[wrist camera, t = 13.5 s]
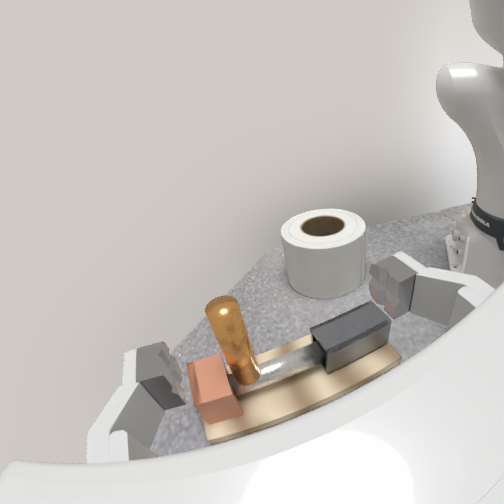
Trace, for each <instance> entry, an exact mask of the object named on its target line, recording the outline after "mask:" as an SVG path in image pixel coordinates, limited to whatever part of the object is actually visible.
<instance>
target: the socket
mask: <svg viewBox="0 0 504 504" xmlns="http://www.w3.org/2000/svg"><path fill="white" fill-rule="evenodd" d="M187 370H188V376H189V381H190V387H191V393H192V398H193V403H194V406H195V408H196V409H197V410H198V411H199V413H200V414H201V415H202V416H203V418H204V419H205V420H206V421H207V423H208V424H209V425H211V424H214V423H218V422H221V421H225V420H228V419H231V418H235V417H238V416H241V415H244V414H243V412H242V409H241V406H240V403H239V400H238V397H237V396H236V397H235V395H234V393H233V391H232V389H231V386H230V382H229V379H228V376H227V375H228V374H229V372H228V370H227V367H226V365H225V363H224V361H223V359H222V357H221V355H220V354H217V355H214V356H211V357H208V358H204V359H201V360H198V361H195V362H191V363H188V364H187Z"/></svg>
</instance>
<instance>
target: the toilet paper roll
mask: <svg viewBox="0 0 504 504" xmlns="http://www.w3.org/2000/svg"><path fill="white" fill-rule="evenodd" d="M281 237H282V242H283V248H284V254H285V260H286V266H287V272H288V279H289V283H290V285H291V286H292V287H293V289H295V290H296V291H297V292H299V293H300V294H302V295H305V296H308V297H311V298H317V299H331V298H337V297H341V296H344V295H346V294H348V293H350V292H352V291H354V290H355V289H356V288H358V287H359V286H360V285H362V284H363V281H364V277H365V249H366V227H365V222H364V221H363V219H362V218H361V217H359V216H358V215H356V214H354V213H352V212H349V211H345V210H340V209H318V210H312V211H308V212H305V213H301V214H299V215H296V216H294V217H293V218H291V219H289V220H288V221H287V222H286V223H285V224H284V225H283V226H282V229H281Z"/></svg>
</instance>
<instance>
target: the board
mask: <svg viewBox="0 0 504 504" xmlns="http://www.w3.org/2000/svg"><path fill="white" fill-rule="evenodd" d="M310 343H312V341H311V334H310V335H307V336H305V337H302V338H300V339H298V340H295V341H293V342H290V343H288V344H285V345H283V346H280V347H278V348H275V349H272V350H270V351H267V352H264V353H262V354H259V355H256V356H255V357H256V360H257V363H258V364H260V363H263V362H266V361H268V360H271V359H273V358H276V357H279V356H281V355H284V354H286V353H289V352H291V351H294V350H296V349H299V348H301V347H303V346H306V345H308V344H310ZM401 358H402V356H401V355H400V354H399V353H398V352H397V351H396V350H395V349H394V348H393V346H392V345H391V344H390V343H389V342H387V344H386V345H385V346H383V347H381V348H379V349H378V350H376V351H374V352H372V353H370V354H369V355H367V356H365V357H363V358H361V359H359V360H357V361H355V362H353V363H351V364H349V365H347V366H345V367H343V368H341V369H339V370H337V371H335V372H333V373H331V374H329V375H328V374H327V373H326V371H325V370H324V368H323V367H322V365H321V364H319V365H316V366H314V367H312V368H310V369H307V370H305V371H303V372H300V373H298V374H295V375H293V376H291V377H288V378H286V379H283V380H280V381H278V382H275V383H273V384H270V385H267V386H265V387H262V388H259V389H256V390H254V391H251V392H248V393H245V394H242V395H239V396H237V397H238V400H239V403H240V406H241V409H242V412H243V414H244V415H241V416H238V417H235V418H231V419H228V420H225V421H221V422H218V423H214V424H211V425H209V424H208V423H207V421H206V420H205V419H204V418H203V416H202V419H203V423H204V427H205V432H206V436H207V440H208V441H209V442H210V443H211V444H216V443H219V442H223V441H227V440H230V439H234V438H237V437H240V436H243V435H247V434H250V433H253V432H256V431H259V430H262V429H265V428H267V427H270V426H273V425H276V424H278V423H281V422H284V421H286V420H289V419H291V418H294V417H296V416H299V415H301V414H304V413H306V412H308V411H310V410H313V409H315V408H317V407H319V406H322V405H324V404H326V403H328V402H330V401H332V400H334V399H336V398H339V397H341V396H343V395H345V394H347V393H348V392H350V391H352V390H354V389H356V388H358V387H360V386H362V385H364V384H365V383H367V382H369V381H371V380H373V379H374V378H376V377H378V376H380V375H381V374H383V373H385V372H386V371H388V370H390V369H391V368H393V367H395V366H396V365H398V364H399V363H400V361H401ZM226 367H227V370H228V372H229V374H231V373H232V371H231V369H230V367H229V365H227V366H226Z"/></svg>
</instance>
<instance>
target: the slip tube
mask: <svg viewBox="0 0 504 504" xmlns="http://www.w3.org/2000/svg"><path fill="white" fill-rule="evenodd" d="M205 312H206V315H207V317H208V320H209V322H210V324H211V327H212V329H213V331H214V334H215V336H216V338H217V340H218V343H219V345H220V347H221V349H222V352H223V354H224V356H225V358H226V361H227V363H228V365H229V367H230V369H231V371H232V373H231V374H228V375H227V376H228V379H229V382H230V386H231V389H232V391H233V393H234V395H235V397H236V396H239V395H242V394H245V393H248V392H251V391H254V390H256V389H259V388H262V387H265V386H267V385H270V384H273V383H275V382H278V381H280V380H283V379H286V378H288V377H291V376H293V375H295V374H298V373H300V372H303V371H305V370H307V369H310V368H312V367H314V366H316V365H319V364H321V363H323V362H325V361H326V352H325V351H324V350H323V348H322V347H321V345H320V344H319V342H318V341H315V342H313V343H310V344H308V345H306V346H303V347H301V348H299V349H296V350H294V351H291V352H289V353H286V354H284V355H281V356H279V357H276V358H273V359H271V360H268V361H266V362H263V363H260V364H258V363H257V360H256V357H255V354H254V351H253V348H252V345H251V342H250V339H249V336H248V333H247V330H246V327H245V324H244V320H243V317H242V314H241V311H240V308H239V305H238V302H237V300H236V299H235V298H234V297H232V296H221V297H217V298H215V299H213V300H212V301H210V302H209V303H208V304H207V306H206V308H205Z"/></svg>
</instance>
